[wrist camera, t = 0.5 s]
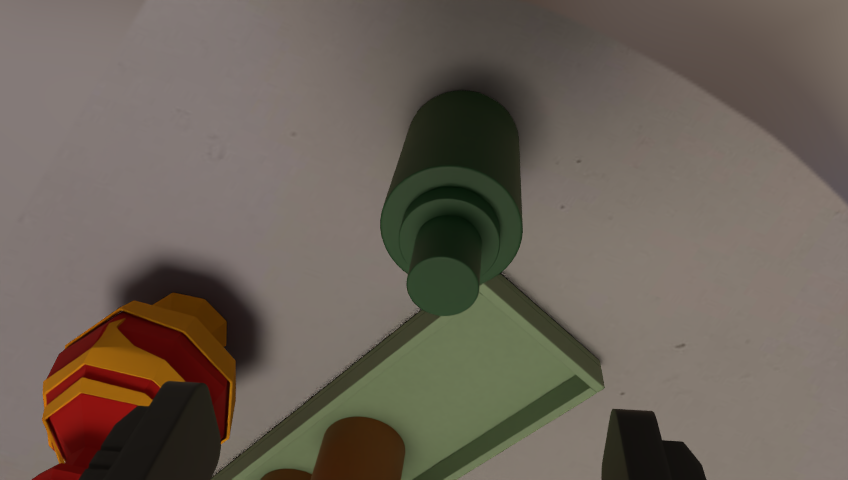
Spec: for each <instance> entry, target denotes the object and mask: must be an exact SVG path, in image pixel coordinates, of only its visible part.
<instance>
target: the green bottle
mask: <svg viewBox="0 0 848 480" xmlns="http://www.w3.org/2000/svg"><path fill="white" fill-rule="evenodd" d="M380 229H381V235H382V239H383V242H384V245H385V247H386V249H387V251H388V253H389V255H390V256H391V258H392V259H393V260H394V262H395V263H396V264H397V265H398V266H399V267H400V268H401V269H402V270H403V271H404V272H406V273H407V274H408V277H407V291H408V294H409V296H410V298H411V299H412V301H413V302H414V303H415V304H416V305H417V306H418V307H419V308H421V309H422V310H424V311H425V312H428V313H430V314H433V315H438V316H452V315H456V314H459V313H462V312H464V311H465V310H467V309H468V308H470V307H471V306H472V305H473V303H474V302H475V301H476V299H477V297H478V294H479V286H480V284H482V283H485V282H487V281H489V280H491V279H493V278H494V277H496V276H497V275H499V274H500V273H501V272H502V271H503V270H504V269H506V268H507V266H508V265H509V264H510V263H511V262H512V260H513V259H514V257H515V256H516V254H517V252H518V249H519V247H520V244H521V240H522V233H523V226H522V201H521V178H520V154H519V137H518V131H517V128H516V125H515V123H514V121H513V119H512V117H511V116H510V114H509V113H508V112H507V110H506V109H505V108H504V107H503V106H502V105H501V104H499V103H498V102H497V101H495V100H494V99H492V98H490V97H488V96H486V95H484V94H481V93H478V92H473V91H463V90H462V91H452V92H447V93H444V94H441V95H439V96H437V97H435V98H433V99H431V100H430V101H428V102H427V103H426V104H425V105H423V106H422V107H421V108H420V110H419V111H418V112H417V113H416V115H415V116H414V118H413V120H412V122H411V124H410V127H409V130H408V133H407V136H406V139H405V142H404V145H403V149H402V152H401V155H400V158H399V161H398V164H397V167H396V170H395V173H394V176H393V179H392V182H391V185H390V188H389V191H388V194H387V197H386V200H385V203H384V206H383V209H382V213H381V219H380Z"/></svg>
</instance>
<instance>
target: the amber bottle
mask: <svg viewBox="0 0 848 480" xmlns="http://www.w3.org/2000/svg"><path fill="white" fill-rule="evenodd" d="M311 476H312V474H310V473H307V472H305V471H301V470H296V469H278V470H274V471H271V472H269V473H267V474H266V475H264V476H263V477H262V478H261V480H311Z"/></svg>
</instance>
